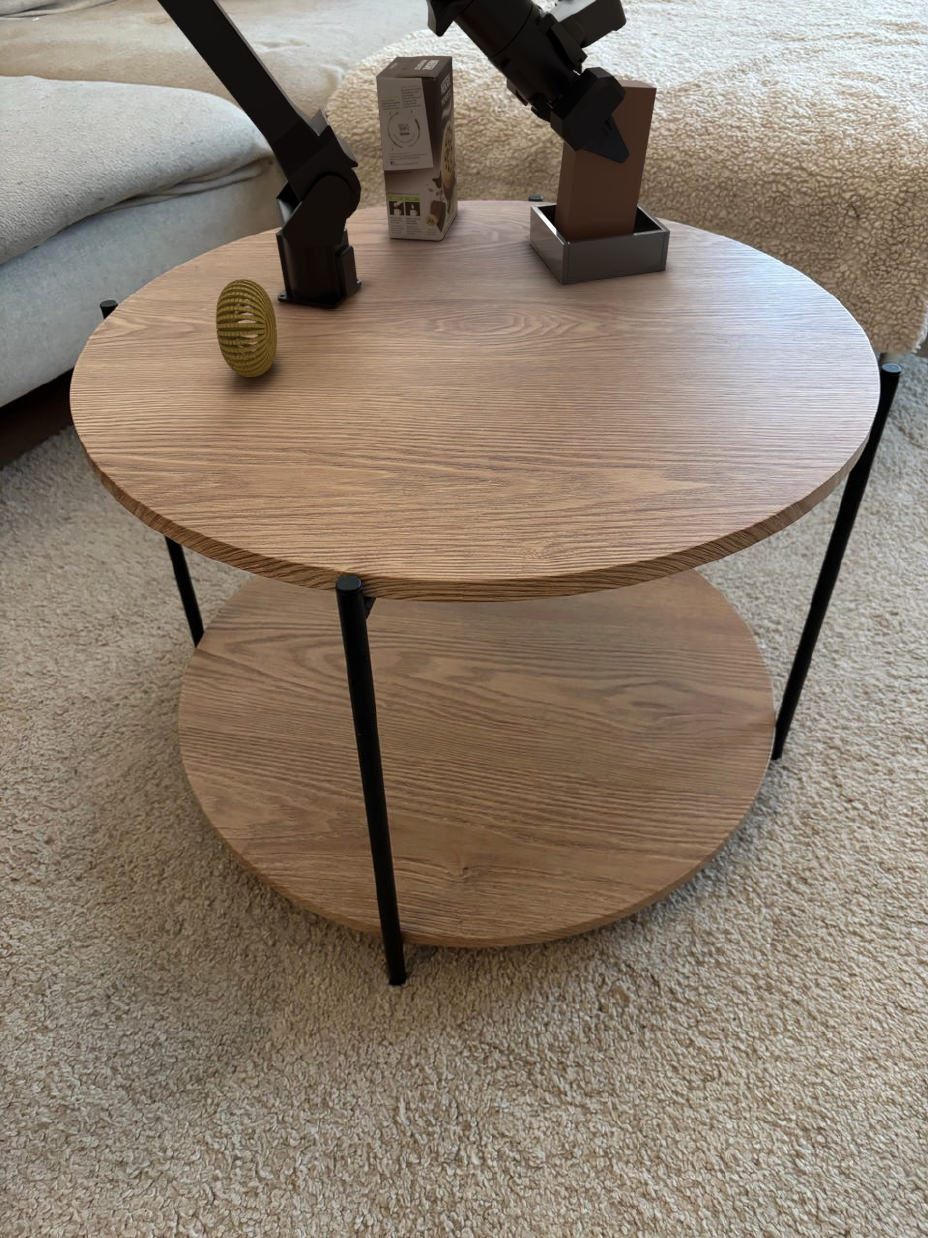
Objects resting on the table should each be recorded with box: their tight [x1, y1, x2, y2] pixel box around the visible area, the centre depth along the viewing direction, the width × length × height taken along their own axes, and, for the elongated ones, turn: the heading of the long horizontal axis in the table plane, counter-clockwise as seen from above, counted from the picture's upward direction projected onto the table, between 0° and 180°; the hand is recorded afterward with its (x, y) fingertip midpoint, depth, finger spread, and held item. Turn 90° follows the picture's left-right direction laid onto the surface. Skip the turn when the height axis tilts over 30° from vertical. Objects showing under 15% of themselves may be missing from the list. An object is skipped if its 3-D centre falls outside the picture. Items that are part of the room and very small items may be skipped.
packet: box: [554, 79, 658, 242], centre depth 89 cm, size 7×5×14 cm
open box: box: [529, 201, 671, 285], centre depth 95 cm, size 11×11×4 cm
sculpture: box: [215, 278, 278, 378], centre depth 77 cm, size 8×4×8 cm, turn 179°
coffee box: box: [375, 55, 459, 242], centre depth 98 cm, size 9×6×16 cm
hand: (615, 150), depth 89 cm, fingers closed on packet, 5 cm apart
